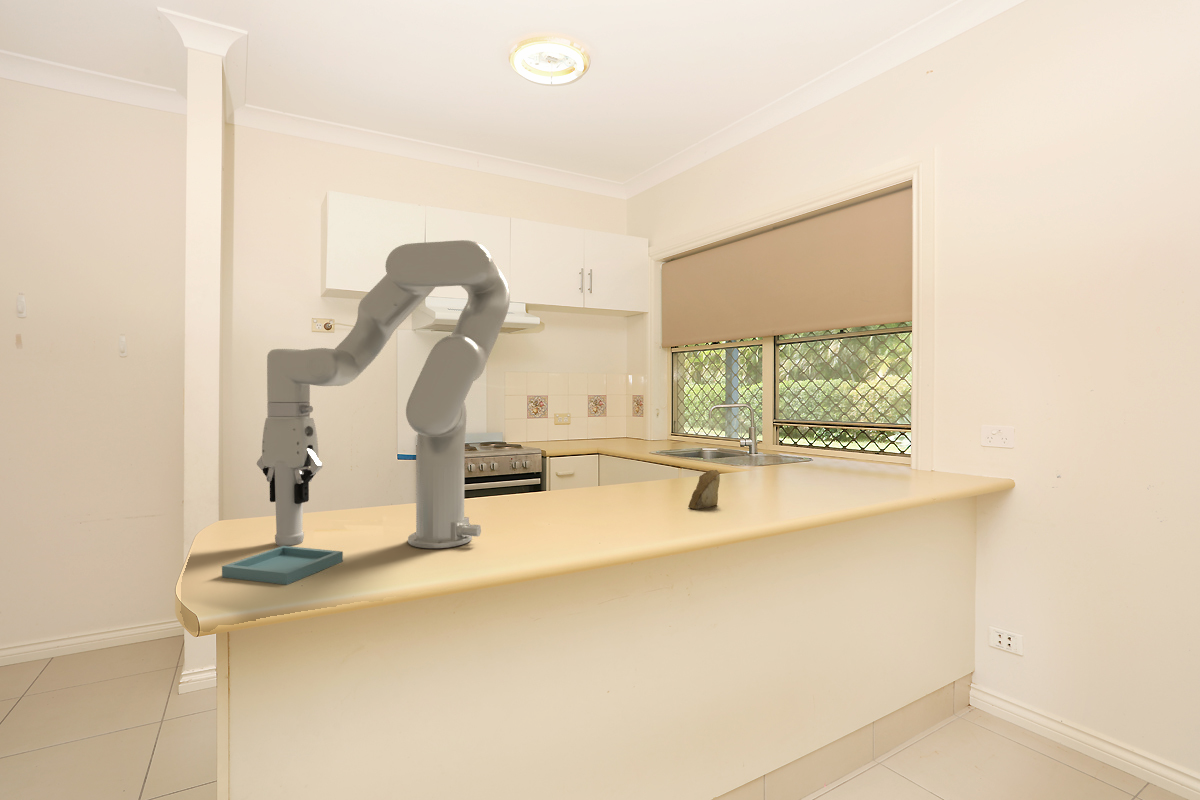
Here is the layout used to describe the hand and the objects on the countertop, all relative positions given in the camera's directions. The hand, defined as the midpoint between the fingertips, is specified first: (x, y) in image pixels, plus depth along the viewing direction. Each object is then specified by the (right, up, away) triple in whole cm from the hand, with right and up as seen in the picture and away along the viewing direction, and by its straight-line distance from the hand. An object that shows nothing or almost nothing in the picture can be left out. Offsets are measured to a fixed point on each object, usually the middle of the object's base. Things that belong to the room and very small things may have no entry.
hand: (289, 500), depth 119 cm
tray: (+8, -9, -16) cm, 20 cm away
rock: (+90, -8, +40) cm, 98 cm away
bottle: (0, -9, 0) cm, 9 cm away
